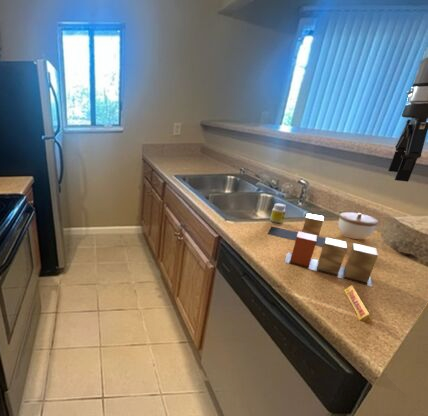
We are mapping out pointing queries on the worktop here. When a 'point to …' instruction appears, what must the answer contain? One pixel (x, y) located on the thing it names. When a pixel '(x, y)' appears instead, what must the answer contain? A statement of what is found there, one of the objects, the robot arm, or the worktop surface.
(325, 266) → the tan upright block
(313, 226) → the O block
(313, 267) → the light grey flat rectangle
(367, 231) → the trinket box
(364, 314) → the chocolate bar
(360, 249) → the block
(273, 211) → the supplement bottle
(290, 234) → the mat
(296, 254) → the block
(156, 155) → the worktop surface
